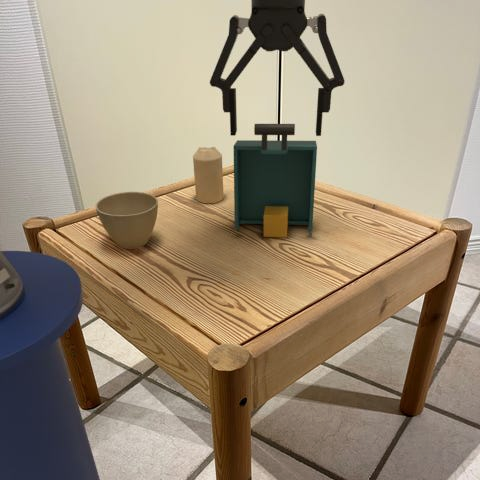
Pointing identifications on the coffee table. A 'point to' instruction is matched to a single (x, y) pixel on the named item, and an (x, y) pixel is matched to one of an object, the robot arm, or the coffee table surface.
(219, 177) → the candle
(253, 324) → the coffee table surface
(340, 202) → the coffee table surface
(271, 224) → the block
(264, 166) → the dustpan
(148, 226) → the beige bowl
